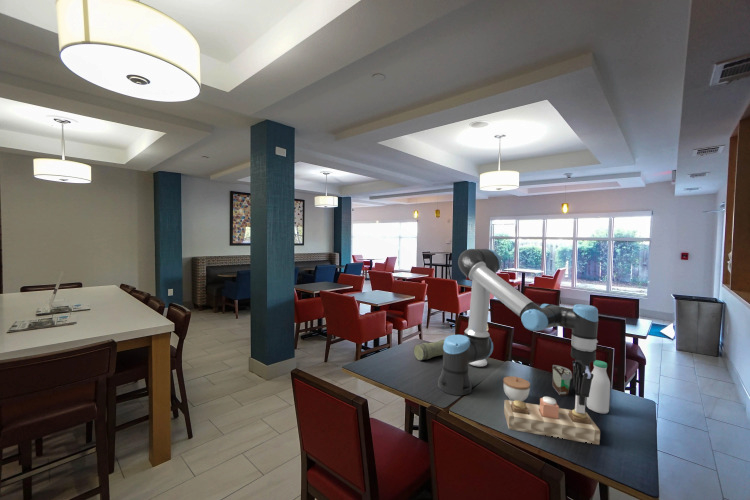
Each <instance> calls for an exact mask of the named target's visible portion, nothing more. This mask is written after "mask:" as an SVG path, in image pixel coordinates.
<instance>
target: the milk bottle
mask: <svg viewBox="0 0 750 500" xmlns="http://www.w3.org/2000/svg"><path fill="white" fill-rule="evenodd" d="M607 368H608V363H607V362H605V361H602V360H600V359H599V360H598V359H596V360H595V361H594V362H593V369H592V370H591V372H590V373H591V374H593V379H592V382H591V388H590V393H589V397H586V401H585V406H586V407H587V408H588V409H589V410H590V411H592V412H595V413H599V414H608V413H609V411H610V399H611V381H610V378H609V376H608V373H607Z"/></svg>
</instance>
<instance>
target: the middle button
mask: <svg viewBox="0 0 750 500" xmlns="http://www.w3.org/2000/svg"><path fill="white" fill-rule="evenodd" d="M539 405H540V413H541V415H542V417H546V418H552V419H558V413H559V408H560V406H559V405H558V403H557V400H556V398H553V397H551V396H543V397H540V398H539Z"/></svg>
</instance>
